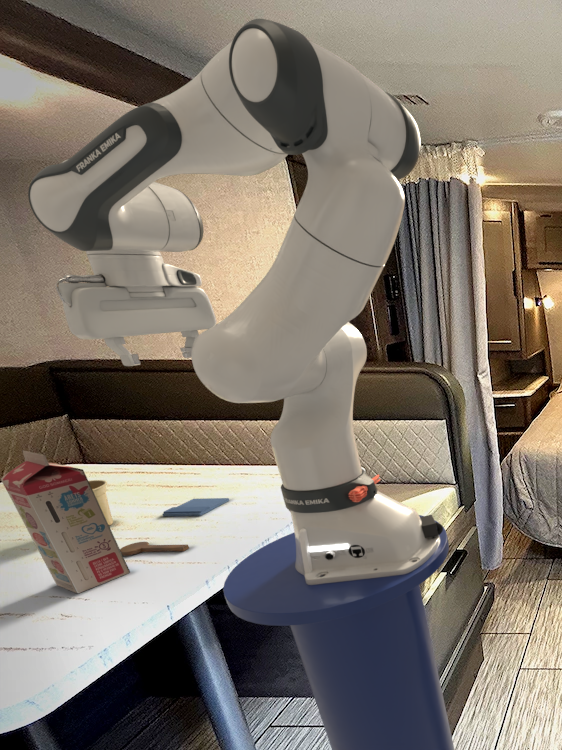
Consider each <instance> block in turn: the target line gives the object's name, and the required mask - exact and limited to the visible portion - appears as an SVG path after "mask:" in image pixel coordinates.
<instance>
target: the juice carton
mask: <svg viewBox="0 0 562 750" xmlns="http://www.w3.org/2000/svg"><path fill="white" fill-rule="evenodd" d="M21 452H22V455H23V457H24V461H23V462H22V463H20V464H19V465H17V466H15V468H13V469H11V470H10V471H9V472H7V473H6V474H4V475H3V476H2V477H1V478H0V481H1V482H2V485H3V487H4V488H5V490H6V492H7V494H8V496H9V498H10V499H11V502H12V504H13V505H14V507H15V509H16V511H17V512H18V515H19V517H20V518H21V520H22V522H23V524H24V527H25V528H26V530H27V532H28V534H29V535H30V537H31V539H32V541H33V543H34V544H35V547H36V548H37V551H38V553H39V554H40V556H41V558H42V561H43V563H44V564H45V566H46V568H47V570H48V571H49V573H50V576H51V578H52V579H53V581H54V583H55V585H56V586H57V587H60V588H62V589H65V590H67V591H70V592H72V593H75V594H77V595H79V594H81V593H83V592H85V591H88V590H90V589H93V588H95V587H98V586H101V585H102V584H105V583H108V582H110V581H113V580H115V579H118V578H120V577H123V576H125V575H128V574H131V571H130V569H129V566H128V564H127V562H126V560H125V558H124V556H123V555H122V553H121V551H120V549H121V548H120V546H119V544H118V542H117V540H116V537H115V536H114V533H113V531H112V529H111V528H110V525H108V523H107V521H106V518H105V516H104V514H103V512H102V510H101V508H100V505H99V503H98V501H97V499H96V497H95V494H94V492H93V490H92V488H91V486H90V484H89V481H90V480H88V477H87V475H86V473H85V471H84V469H82V468H78V467H73V466H70V465H65V464H60V463H56V462H49V461H48V459H47V456H46V455H45V454H41V453H36V452H32V451H27V450H21Z"/></svg>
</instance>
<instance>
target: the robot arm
mask: <svg viewBox="0 0 562 750" xmlns="http://www.w3.org/2000/svg"><path fill="white" fill-rule="evenodd" d="M420 154H421V134H420V129H419V126H418V124H417V122H416V120H415V118H414V116H413V115H412V114H411V112H409V110H408V109H407V108H406V107H405V105H403V104H402V102H400V101H399V100H398V99H397V98H396V97H395V96H394V95H393V94H391V93H389V92H387V91H384V90H383V89H382V88H381V87H379V85H377V84H376V83H374V82H373V81H372V80H371V79H370V78H368V77H367V76H365V75H364V74H363V73H362V72H360V71H359V70H358V68H356V67H355V66H354V65H353V64H351V63H350V62H348V61H347V60H345V59H343V58H342V57H340V56H339V55H337V54H335V53H334V52H332V51H330V50H329V49H327V48H325V47H323V46H321V45H319V44H317V43H315V42H313V40H310V39H308V38H307V37H306V36H305V35H304V34H302V33H301V32H300V31H299V30H296V29H295V28H292V27H289V26H287V25H285V24H283V23H279V22H277V21H274V20H270V19H265V18H253V19H250V20H249V21H247V22H246V23H245V24H243V26H242V27H240V29H239V30H238V31H237V32H236V33H235V35H234V37H233V39H232V41H230V42H229V43H227V45H225V46H224V47H223V48H221V50H219V51H218V52H217V53H216V54H215V55H214V56H213V57H212V58H211V59H210V60H209V61H208V62H207V63H206V65H205V66H204V67H203V68H202V69H201V71H200V72H198V73H197V75H196V76H195V77H193V78H192V79H191V80H190V81H189V82H187V83H186V84H184V85H183V86H181V87H180V88H177V90H175V91H173V92H172V93H169V94H167V95H165V96H163V97H160V98H159V99H157V100H153V101H152V102H148V103H145V104H142V105H139V106H138V107H134V108H133V109H131V110H129V111H127V112H125V113H124V114H123V115H121V116H120V117H118V119H116V120H115V121H114V122H112V123H111V124H110V125H108V127H106V128H105V129H103V131H102V132H100V133H99V134H98V135H97V136H96V137H94V138H93V139H92V140H90V142H88V143H87V144H85V146H83V147H82V148H81V149H80V150H78V151H77V152H76V153H75V154H74V155H73V156H71V157H69V158H67V159H65V160H63V161H62V162H61V163H57V164H51V165H47V166H45V167H44V168H42V169H41V170H40V171H38V173H36V174H35V176H34V177H33V179H32V180H31V182H30V184H29V187H28V192H27V195H28V196H27V197H28V203H29V206H30V209H31V211H32V213H33V215H34V217H35V218H36V220H37V221H38V222H39V223H40V224H41V225H42V226H43V227H44V228H45V229H46V230H47V231H48V232H50V233H51V234H52V235H54V236H55V237H56V238H58V239H59V240H61V241H63V242H64V243H66V244H67V245H69V246H71V247H73V248H74V249H77V250H78V251H82V252H85V254H86V257H87V259H88V262H89V264H90V268H91V270H92V273H93V274H84V275H83V274H82V275H78V274H66V275H64V276H63V277H62V278H60V279H58V280H57V282H56V283H55V289H56V292H57V294H58V297H59V299H60V301H61V302H62V307H63V311H64V316H65V320H66V323H67V326H68V329H69V332H70V333H71V334H72V335H74V336H75V337H76V338H77V339H79V340H104V343H105V345H106V347H108V348H109V349H111V350H112V351H113V352H114V353H115V354H116V355H118V356H119V358H120V361H121V363H122V366H124V367H134V366H140V365H141V360H140V356H139V354H138V353H131V352H130V350H129V349H128V348H126V347H125V346H124V345H126V344H127V343H126V340H125V337H137V336H148V335H149V336H150V335H160V334H171V333H180V334H181V337H182V338H185V341H184V346H182V347H180V348H179V350H180V352H181V355H182V357H183V358H185V359H191V362H192V367H193V369H194V372H195V374H196V376H197V378H198V379H199V381H200V382H201V383H202V385H203V386H204V387H205V388H206V389H207V390H208V391H210V392H211V393H212V394H213V395H215V397H218V398H219V399H222V400H224V401H227V402H228V403H229V402H230V403H234V404H257V403H273V402H276V401H280V400H283V405H282V406H283V408H282V412H281V415H280V417H279V420H278V421H277V423H276V424H275V426H274V427H273V429H272V431H271V433H270V440H269V441H270V443H269V444H270V447H271V450H272V453H273V457H274V460H275V463H276V467H277V469H278V473H279V477H280V479H281V485H280V491H281V494H282V499H283V502H284V505H285V508H286V509H287V510H288V511H289V513H290V517H291V521H292V526H293V531H294V532H293V533H295V541H296V563H295V568H296V570H297V571H298V572H299V573H301V574H302V575H304V576H305V582H306V584H308V585H317V584H325V583H334V582H343V581H352V580H361V579H370V578H378V577H387V576H396V575H403V574H407V573H409V572H411V571H413V570H415V569H417V568H418V567H420V566H421V565H422V564H424V563H425V562H426V561H427V560H428V559H429V558H430V557H431V556H432V555H433V553H434V552H435V551H436V549H437V548H438V546H439V543H440V536H439V535H440V534H441V533H442V531H443V527H444V526H443V524H441V523H440V522H439V523H437V522H438V521H437V522H435V521H436V520H435V519H434V516H433V515H432V514H428V515H422V516H423V517H419V515H420V514H419V513H418V512H417V511H416V509H414V508H413V507H410V506H408V505H406V504H403V503H402V502H400V501H399V500H396V499H395V498H392V497H390V496H388V495H386V494H384V493H383V492H381V491H380V490H378V487H377V486H376V485H377V484H378V483H379V482H380V481H381V480H382V479H381V478H380V474H376V475H375V476H374V477H370V476H369V474H368V473H367V472H366V471H365V469H363V467H362V465H361V460H360V454H359V450H358V446H357V441H356V435H355V431H354V429H355V428H354V401H355V391H356V385H357V381H358V379H359V375H360V372H361V371H362V370H363V368H364V366H365V364H366V362H367V357H368V349H367V344H366V342H365V339H364V337H363V335H362V334H361V332H360V331H359V330H358V329H357V327H356V326H355V325H354V324H352V323H351V321H352V320H354V319H355V318H357V317H358V316H359V315H360V314H361V312H363V310H364V309H365V307H366V305H367V303H368V301H369V299H370V296H371V294H372V292H373V291H374V288H375V286H376V284H377V282H378V280H379V278H380V276H381V274H382V272H383V270H384V268H385V266H386V264H387V261H388V259H389V257H390V254H391V252H392V250H393V247H394V244H395V242H396V239H397V236H398V233H399V230H400V227H401V223H402V219H403V214H404V210H405V204H406V196H405V192H404V190H403V187H402V185H401V183H400V182H399V181H398V180H402V179H404V178H406V177H407V176H408V175H409V174H410V173H411V172H413V170H414V169H415V167H416V165H417V163H418V161H419V157H420ZM288 155H289V156H299V155H302V156H303V159H304V161H305V165H306V169H307V182H306V185H305V189H304V191H303V193H302V196H301V198H300V199H299V203H298V204H297V206H296V209H295V211H294V213H293V216H292V219H291V222H290V223H289V227H288V229H287V232H286V233H285V236H284V239H283V241H282V243H281V245H280V247H279V250H278V253H277V254H276V258H275V260H274V261H273V263H272V265H271V267H270V268H269V270H268V271H267V273H266V274H265V276H264V277H263V278H262V279H261V281H259V283H257V285H256V287H254V288H253V290H252V291H251V292H250V293H249V294H248V295H247V296H246V298H245V299H244V300H243V301H242V302H241V303H240V304H239V305H238V306H237V307H236V308H235V309H234V310H233V311H232V312H231V313H230V314H229V315H227V316H226V317H225V318H224V319H222V320H221V321H220V322H217V317H216V313H215V310H214V307H213V305H212V302H211V300H210V298H209V296H208V294H207V292H206V291H205V290H204V289H202V288H201V286H202V285H203V280H202V277H201V275H200V274H199V273H196V272H193V271H191V270H187V269H185V268H182V267H178V266H175V265H172V264H169V263H165V261H164V260H165V259H164V258H163V254H162V253H161V252H163V253H164V252H166V253H184V252H188V251H193V250H195V249H197V248H198V246H200V245H201V242H202V241H203V238H204V232H205V231H204V223H203V219H202V216H201V214H200V212H199V209H198V208H197V206H196V204H195V203H194V202H193V201H192V199H190V197H189V196H187V195H186V193H184V192H183V191H181V190H180V189H178V188H175V187H172V186H168V185H166V184H162V183H159V182H157V181H158V180H161V179H164V178H168V177H173V176H178V175H218V176H219V175H223V176H237V177H250V176H251V177H252V176H257V175H260V174H261V173H264V172H267V171H268V170H271V169H273V168H274V167H276V166H278V165H279V164H280V163H281V162H282V161H284V160H285V158H286V157H288ZM199 331H202V332H201V333H200V334H199Z"/></svg>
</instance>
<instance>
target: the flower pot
mask: <svg viewBox="0 0 562 750" xmlns="http://www.w3.org/2000/svg"><path fill="white" fill-rule="evenodd" d="M88 481H89V484H90V486H91V488H92V490H93V492H94V494H95V497H96V499H97V501H98V503H99V505H100V508H101V510H102V512H103V514H104V516H105V518H106V521H107V523H108V525H109V526H112V525H113V523H114V520H113V516H112V513H111V509H110V504H109V500H108V496H107V485H108V481H106V480H104V479H93V480H88Z"/></svg>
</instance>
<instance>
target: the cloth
mask: <svg viewBox="0 0 562 750" xmlns="http://www.w3.org/2000/svg"><path fill="white" fill-rule="evenodd" d="M229 501H230V498H229V497H219V498H218V497H216V498H214V497H211V498H209V497H208V498H192V499H190V500H188V501H186V502H184V503H182V504H180V505H178V506H173V507H171V508H169V509H166V510H164V511H163V513H162V517H202V516H203V515H205V514H208V513H209V512H211V511H212V510H215V509H217V508H218V507H220V506H222V505H224V504H226V503H227V502H229Z"/></svg>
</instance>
